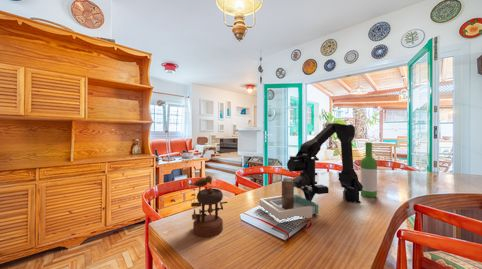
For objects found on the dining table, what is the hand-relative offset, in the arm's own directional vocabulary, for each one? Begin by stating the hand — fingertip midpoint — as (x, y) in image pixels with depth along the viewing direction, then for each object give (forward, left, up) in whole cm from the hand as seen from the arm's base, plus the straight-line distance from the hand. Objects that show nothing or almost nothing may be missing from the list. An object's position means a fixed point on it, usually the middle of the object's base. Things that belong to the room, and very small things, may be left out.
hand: (308, 203), depth 91 cm
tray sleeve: (+12, +7, -2) cm, 14 cm away
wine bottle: (-37, -24, -2) cm, 45 cm away
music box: (+40, +26, -2) cm, 47 cm away
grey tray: (+8, +5, -2) cm, 9 cm away
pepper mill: (+10, +6, -1) cm, 12 cm away
